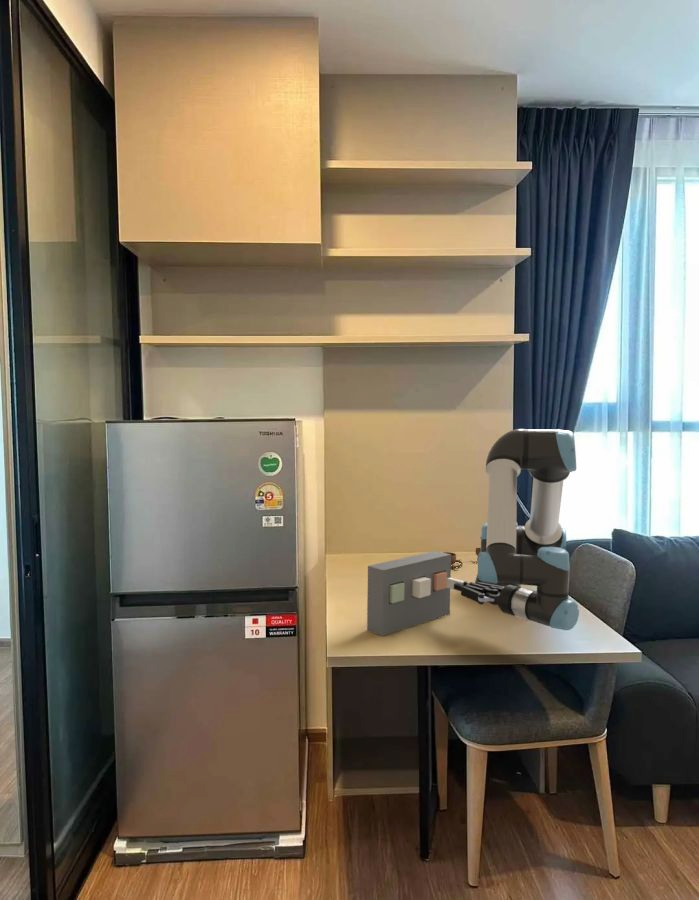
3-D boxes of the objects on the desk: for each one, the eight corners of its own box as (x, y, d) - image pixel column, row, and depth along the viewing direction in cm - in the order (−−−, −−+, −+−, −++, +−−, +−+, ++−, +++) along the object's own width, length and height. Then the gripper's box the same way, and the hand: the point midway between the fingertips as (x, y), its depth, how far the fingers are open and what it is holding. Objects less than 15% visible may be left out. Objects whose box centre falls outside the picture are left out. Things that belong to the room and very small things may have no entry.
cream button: (415, 590, 190) (416, 574, 190) (430, 595, 186) (430, 578, 186) (404, 593, 187) (405, 577, 187) (419, 598, 183) (419, 581, 183)
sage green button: (389, 595, 185) (390, 579, 185) (404, 599, 181) (404, 583, 181) (378, 598, 182) (378, 582, 182) (392, 603, 178) (392, 586, 178)
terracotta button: (432, 583, 197) (432, 568, 197) (446, 587, 193) (447, 572, 193) (422, 586, 194) (422, 571, 194) (436, 590, 190) (436, 575, 190)
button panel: (434, 609, 201) (435, 550, 199) (449, 614, 196) (451, 554, 195) (367, 630, 182) (367, 565, 181) (382, 636, 178) (383, 570, 176)
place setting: (430, 560, 264) (431, 545, 264) (481, 562, 262) (481, 547, 262) (431, 571, 247) (432, 556, 247) (486, 573, 245) (486, 558, 245)
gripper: (503, 621, 168) (433, 599, 186) (532, 611, 177) (462, 591, 194) (504, 592, 167) (433, 573, 185) (533, 583, 176) (463, 566, 194)
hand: (448, 582), depth 190 cm, fingers closed
